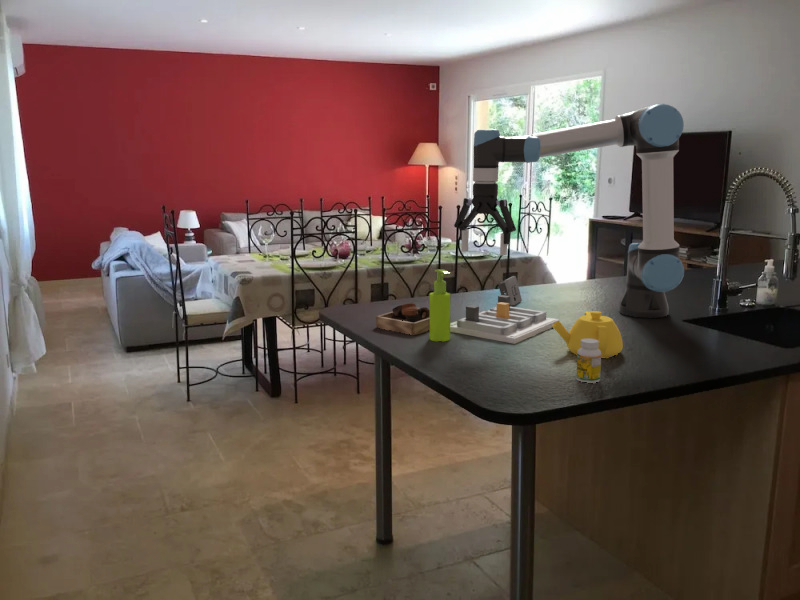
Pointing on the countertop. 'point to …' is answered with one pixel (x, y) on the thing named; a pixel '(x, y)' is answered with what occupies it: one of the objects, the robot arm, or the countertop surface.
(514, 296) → the electrical switch
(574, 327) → the teapot
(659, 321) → the countertop surface
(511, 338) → the panel
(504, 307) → the block
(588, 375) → the supplement bottle
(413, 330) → the wooden tray
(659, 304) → the robot arm
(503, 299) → the block
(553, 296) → the countertop surface
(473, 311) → the block
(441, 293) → the soap dispenser
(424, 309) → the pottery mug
